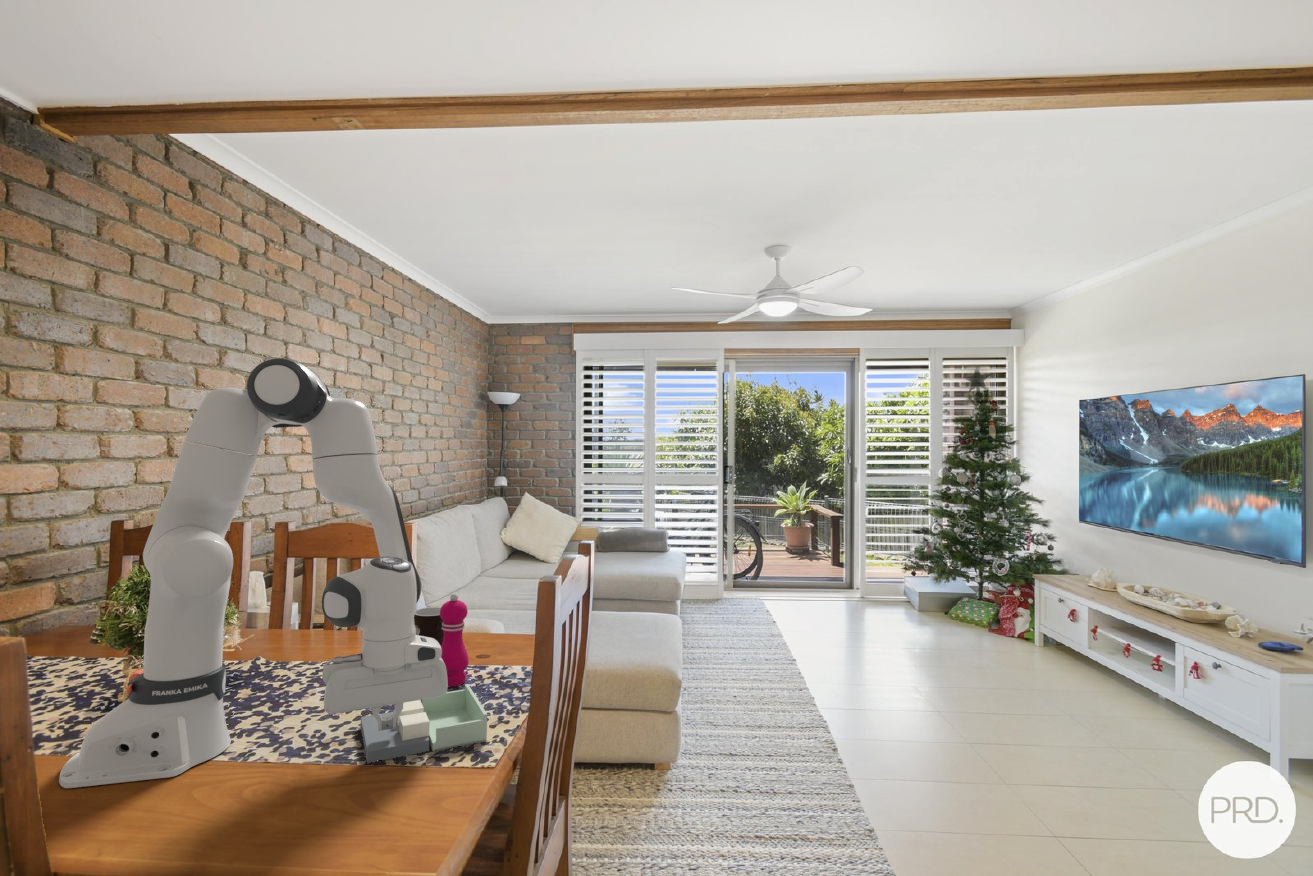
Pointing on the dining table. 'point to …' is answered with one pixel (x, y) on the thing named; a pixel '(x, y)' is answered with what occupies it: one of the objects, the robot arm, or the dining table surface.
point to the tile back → (411, 709)
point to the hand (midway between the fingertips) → (386, 728)
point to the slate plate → (388, 741)
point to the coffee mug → (429, 623)
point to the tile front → (414, 726)
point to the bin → (455, 719)
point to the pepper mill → (454, 640)
